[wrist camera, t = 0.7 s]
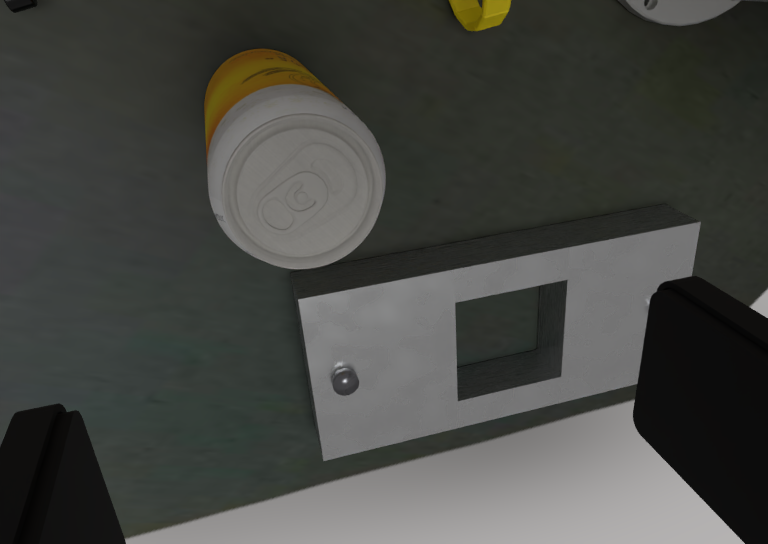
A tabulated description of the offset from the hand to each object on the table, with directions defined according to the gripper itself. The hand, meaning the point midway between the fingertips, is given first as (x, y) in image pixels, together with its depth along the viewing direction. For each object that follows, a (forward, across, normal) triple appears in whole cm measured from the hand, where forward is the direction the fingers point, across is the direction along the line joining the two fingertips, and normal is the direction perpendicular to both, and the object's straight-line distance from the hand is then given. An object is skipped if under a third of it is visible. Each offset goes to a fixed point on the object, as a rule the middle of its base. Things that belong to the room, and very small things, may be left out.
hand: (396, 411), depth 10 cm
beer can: (+27, 0, 0) cm, 27 cm away
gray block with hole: (+27, -14, +16) cm, 34 cm away
